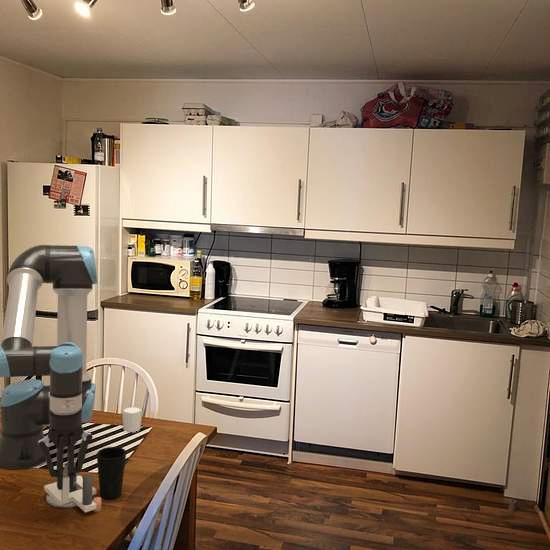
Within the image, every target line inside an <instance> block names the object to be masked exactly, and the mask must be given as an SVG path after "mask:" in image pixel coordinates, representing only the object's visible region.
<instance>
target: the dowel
mask: <svg viewBox="0 0 550 550" xmlns="http://www.w3.org/2000/svg"><path fill="white" fill-rule="evenodd" d="M92 501H93V502H94V503H95V504H96V509H94V510H92V511H93V512H96V513H98V512H101V510H102V498H101V497H100V496H95V497H93V498H92Z"/></svg>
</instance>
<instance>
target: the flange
mask: <svg viewBox="0 0 550 550" xmlns="http://www.w3.org/2000/svg"><path fill="white" fill-rule="evenodd" d="M93 478H94V477H93V475H91V474H86V475H85V474H84V475H83V476H81V474H80V475H77V488H79V489H80V490H77V491H74V492H70V493H69V502H72V501H73V502H74V503H76V504H77V505H78V506H77V507H78V508H80V509H81V510H82V511H83V512H84V513H89V512H91V511H93V510H94V509H96V504H95V503H94V502H93V498H92V495H93V496H94V495H96V494H97V488H95V487H94V486H93V481H94V480H93ZM43 490H44V491H45V492H46V494H47V493H48V494H49V495H50V496H51V497H52V498H53V499H54V500H55V501H56V502H57V503H58V504H59V505H63V504H66V503H63V502H62V500H61V490H58V488H57V481H55V482H53V483H49V484H48V483H47V484H45V485H44V486H43ZM69 502H67V503H69Z"/></svg>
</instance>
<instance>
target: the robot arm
mask: <svg viewBox="0 0 550 550" xmlns="http://www.w3.org/2000/svg"><path fill="white" fill-rule="evenodd" d="M97 273H98V272H97V263H96V258H95V252H94V249H93V248H92V247H90V246H83V245H57V244H55V245H51V244H38V245H35V246H32V247H29V248H27V249H26V250H24V251H23V252H22V253H21V254H19V255H18V256H17V257H16V258H15V259H14V260H13V262H12V263H11V265H10V267H9V269H8V272H7V276H6V277H7V278H6V282H7V285H8V287H9V289H8V295H7V302H6V303H7V304H6V310H5V315H4V321H3V322H4V323H3V327H2V333H1V334H2V336H1V341H0V378H14V377H15V378H16V377H17V378H19V377H45V376H46V377H47V376H48V377H49V384H48V385H45V384H44V382H43V381H42V380H40V379H36V378H35V379H33V378H31V379H25V380H19V381H16V382H13V383H10V384H8V385H7V386H5V387H4V388H3V389H2V391H1V394H0V395H1V396H0V468H3V469H7V470H22V469H30V468H33V467H36V466H39V465H41V464H43V463H45V462H46V465H47V470H48V472H49V475H50V477H51V478H56V482H57V488H58V490H61V500H62V502H63V503H67V502H69V488H72V487H73V485H74V476H75V474H76V473H77V474H79V473H81V472H82V470H83V466H84V463H85V459H86V454H87V453H88V452H87V451H88V446H89V444H90V443H91V441H92V440H93V437H94V436H93V435H92V433H91V432H90V431H86V430H84V428H83V423H87V422H89V421H90V420H91V419H92V416H93V412H94V411H93V410H94V405H95V399H96V390H97V384H96V383H94V382H92V377H91V376H90V375H89V374H88V373H87V346H88V345H87V342H88V340H87V338H88V337H87V335H88V295H89V294H90V293H91V292H92V291H93V289H94V288H93V285H97V283H98V276H97ZM43 284H52V290H53V291H54V292H55V293H56V295H57V322H56V323H57V325H56V326H57V329H56V331H57V333H56V334H57V335H56V336H57V337H56V341H57V342H56V345H46V346H45V345H43V346H41V345H40V346H37V345H36V346H35V345H34V346H33V344H34V333H35V323H36V313H37V312H36V311H37V304H38V303H37V302H38V295H39V294H38V293H39V292H38V291H39V289H41V287H42V286H43ZM44 426H49V429H48V431H47V433H46V435H45V434H44ZM80 439H81V442H80V445H79V449H78V451H77V452H78V453H77V456H76V461H75V449H76V447H75V446H76V444H77V443H78V441H79V440H80ZM50 442H51V443H52V444H53V445H54V446H55V447H56V469H55V467H54V463H53V460H52V456H51V453H50V447H49V446H50ZM65 448H67V460H66V461H67V462H66V463H67V471H68V473H64V453H65ZM74 462H75V466H74Z"/></svg>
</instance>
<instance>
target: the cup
mask: <svg viewBox="0 0 550 550" xmlns="http://www.w3.org/2000/svg"><path fill="white" fill-rule="evenodd" d="M126 457H127V451H126V449H124V448H122V447H121V446H120V447H118V446H107V447H104V448H101V449H99V450H98V451H97V453H96V461H97V473H98V475H97V477H98V485H99V497H101V499H102V500H105V501H106V500H107V501H111V500H116V499H118V498H120V497H121V496H122V491H123V490H122V489H123V484H124V483H123V482H124V473H125V465H126Z"/></svg>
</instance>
